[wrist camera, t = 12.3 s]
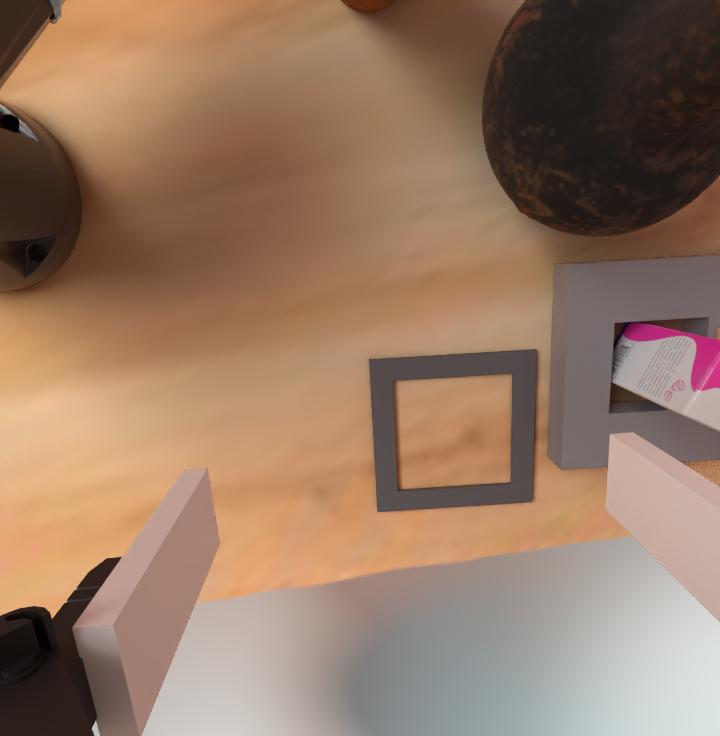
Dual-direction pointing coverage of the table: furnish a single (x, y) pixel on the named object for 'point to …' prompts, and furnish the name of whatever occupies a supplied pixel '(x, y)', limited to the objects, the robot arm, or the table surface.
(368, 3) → the disposable coffee cup
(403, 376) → the flat grey square frame
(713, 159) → the glass bottle
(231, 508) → the table surface
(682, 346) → the supplement box
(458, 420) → the table surface
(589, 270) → the socket plate
